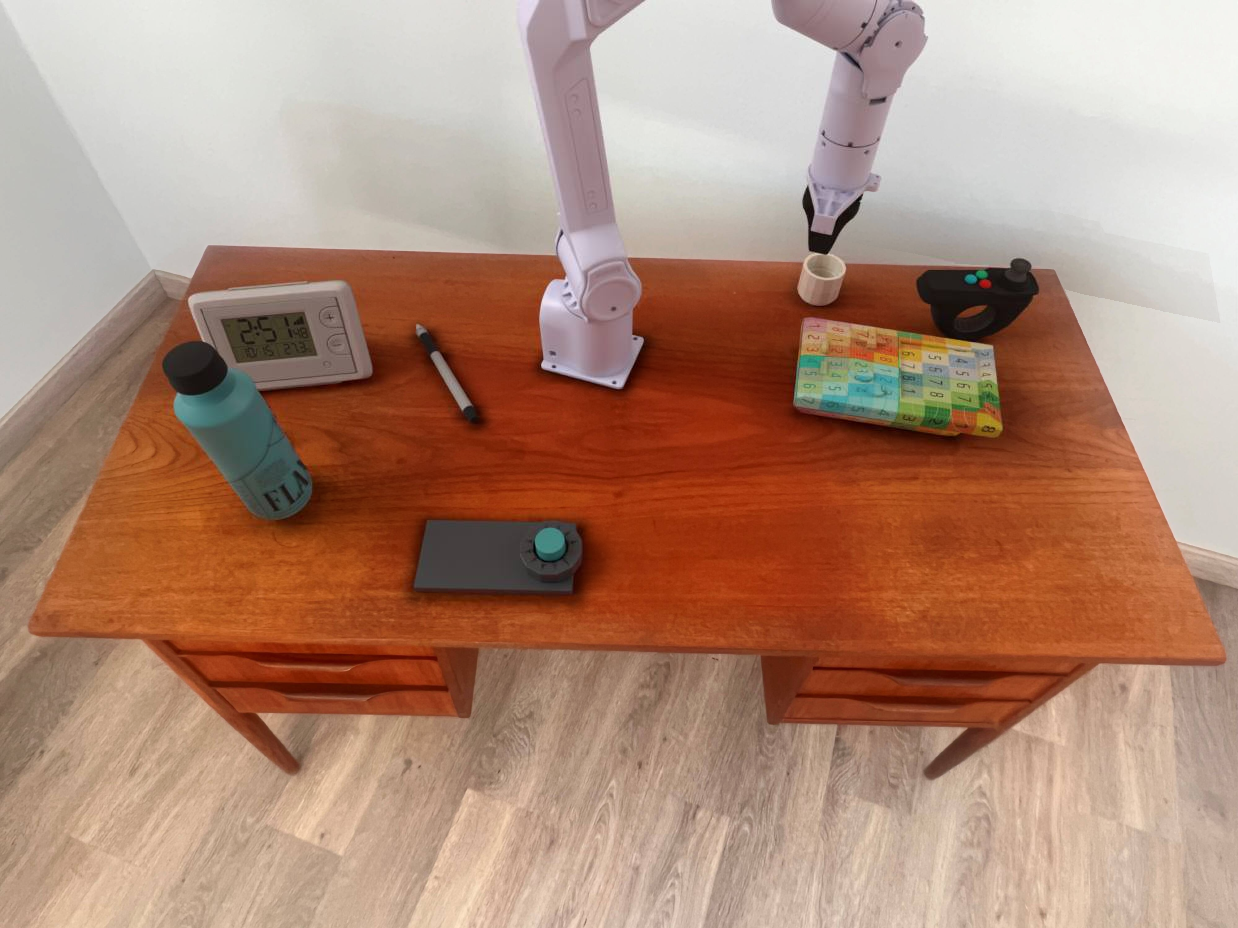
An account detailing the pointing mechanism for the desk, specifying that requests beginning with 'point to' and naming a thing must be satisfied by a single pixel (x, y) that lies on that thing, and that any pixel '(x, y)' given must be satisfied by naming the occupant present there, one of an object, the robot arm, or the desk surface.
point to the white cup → (821, 278)
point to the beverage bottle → (237, 431)
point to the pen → (447, 374)
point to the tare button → (550, 544)
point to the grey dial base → (495, 558)
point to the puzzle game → (897, 379)
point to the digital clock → (286, 332)
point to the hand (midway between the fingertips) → (819, 249)
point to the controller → (977, 298)
